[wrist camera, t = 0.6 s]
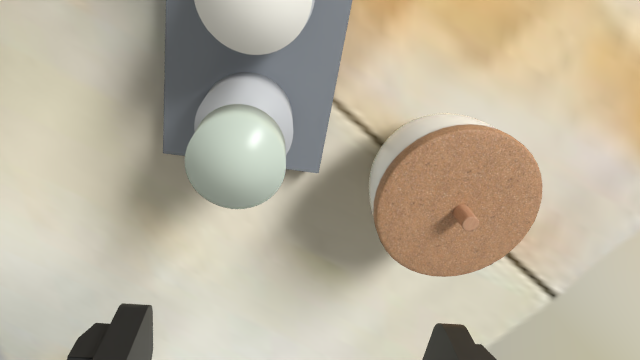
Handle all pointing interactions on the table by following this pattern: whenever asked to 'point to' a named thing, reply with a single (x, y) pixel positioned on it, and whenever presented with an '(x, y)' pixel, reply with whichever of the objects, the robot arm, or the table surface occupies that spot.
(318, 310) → the table surface
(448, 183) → the lidded jar
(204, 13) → the knob mid
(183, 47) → the control board
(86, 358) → the robot arm
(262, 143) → the knob
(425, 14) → the table surface
